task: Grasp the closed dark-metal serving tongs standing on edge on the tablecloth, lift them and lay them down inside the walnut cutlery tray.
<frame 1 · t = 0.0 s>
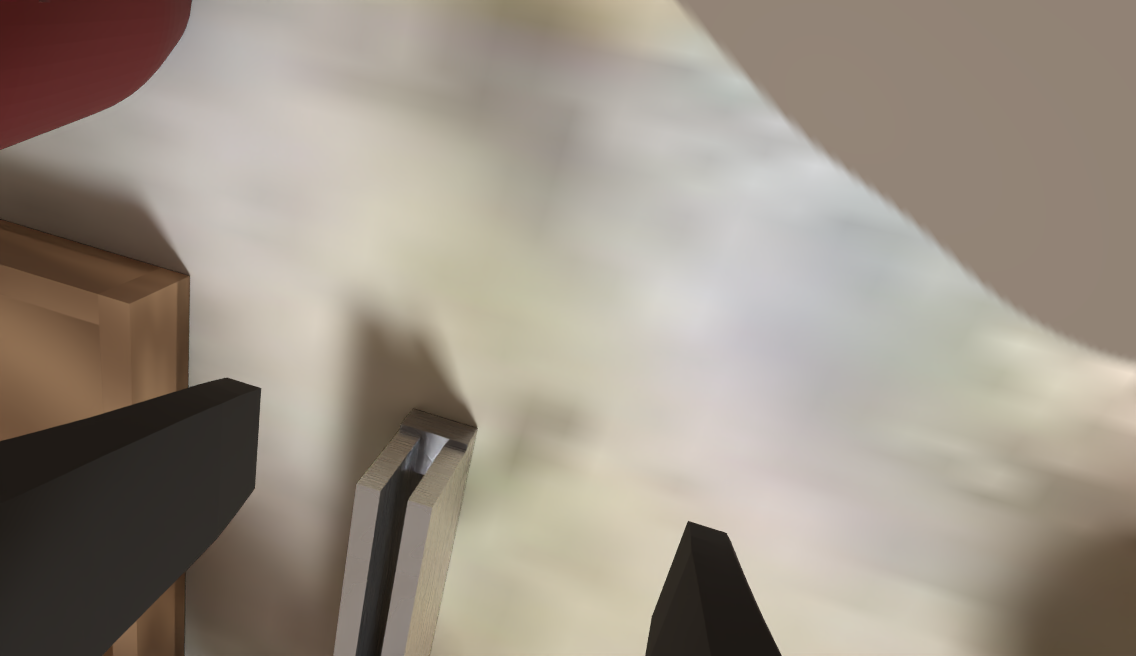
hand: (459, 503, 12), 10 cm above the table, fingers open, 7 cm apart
tongs: (415, 574, 26), on the table
tray: (64, 459, 27), on the table
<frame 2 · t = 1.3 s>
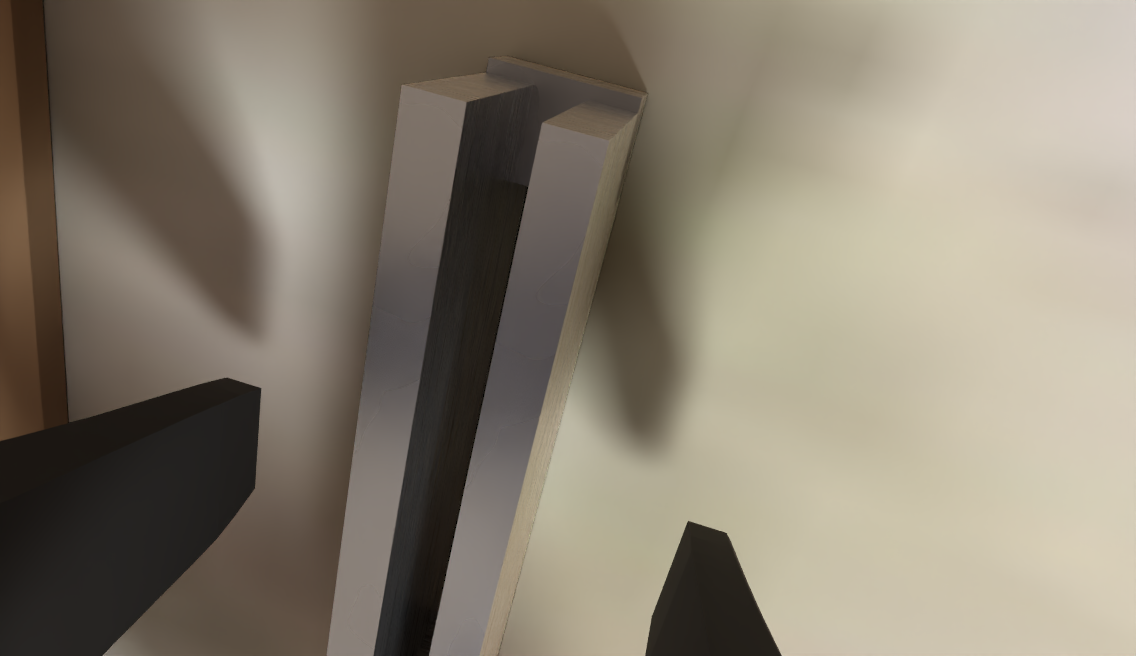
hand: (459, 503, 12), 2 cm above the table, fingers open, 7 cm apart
tongs: (494, 442, 14), on the table
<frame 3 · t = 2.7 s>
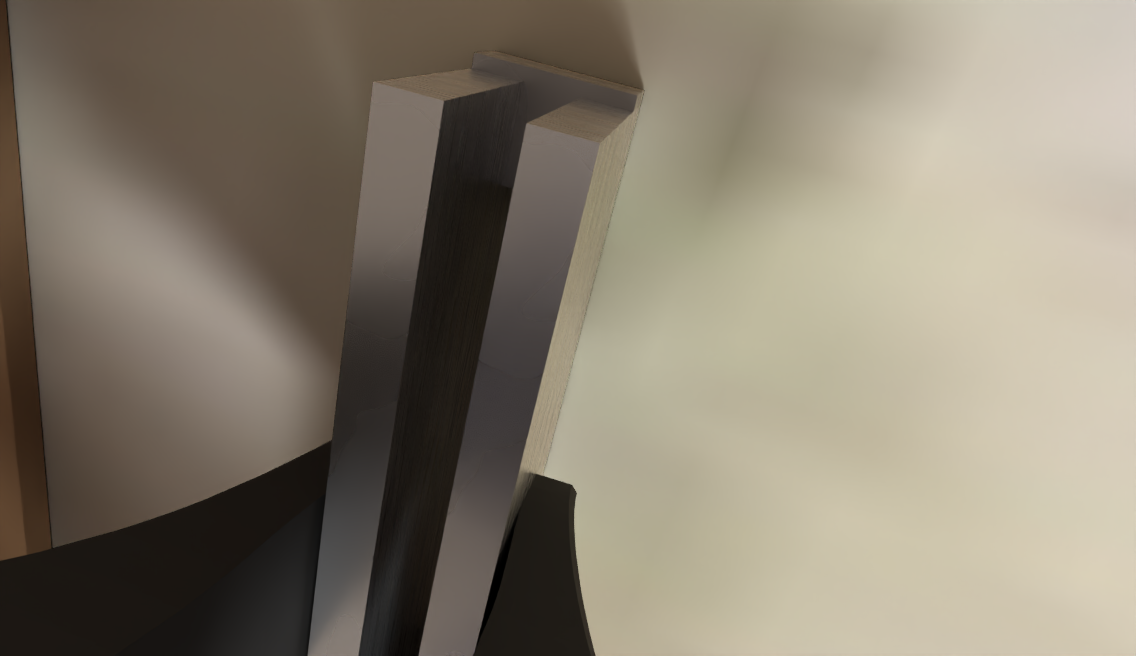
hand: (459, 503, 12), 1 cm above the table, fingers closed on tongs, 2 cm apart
tongs: (484, 456, 13), on the table, touching gripper
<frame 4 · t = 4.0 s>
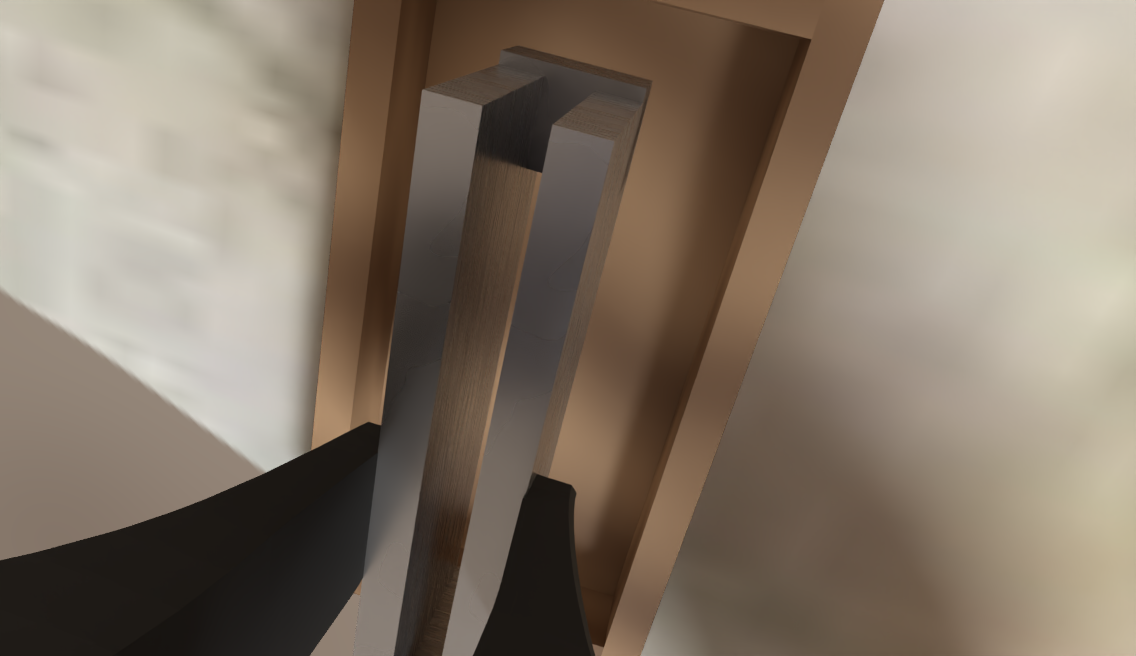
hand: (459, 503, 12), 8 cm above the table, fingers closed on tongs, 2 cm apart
tongs: (508, 410, 14), point 5 cm above the table, touching gripper
tray: (546, 315, 19), on the table
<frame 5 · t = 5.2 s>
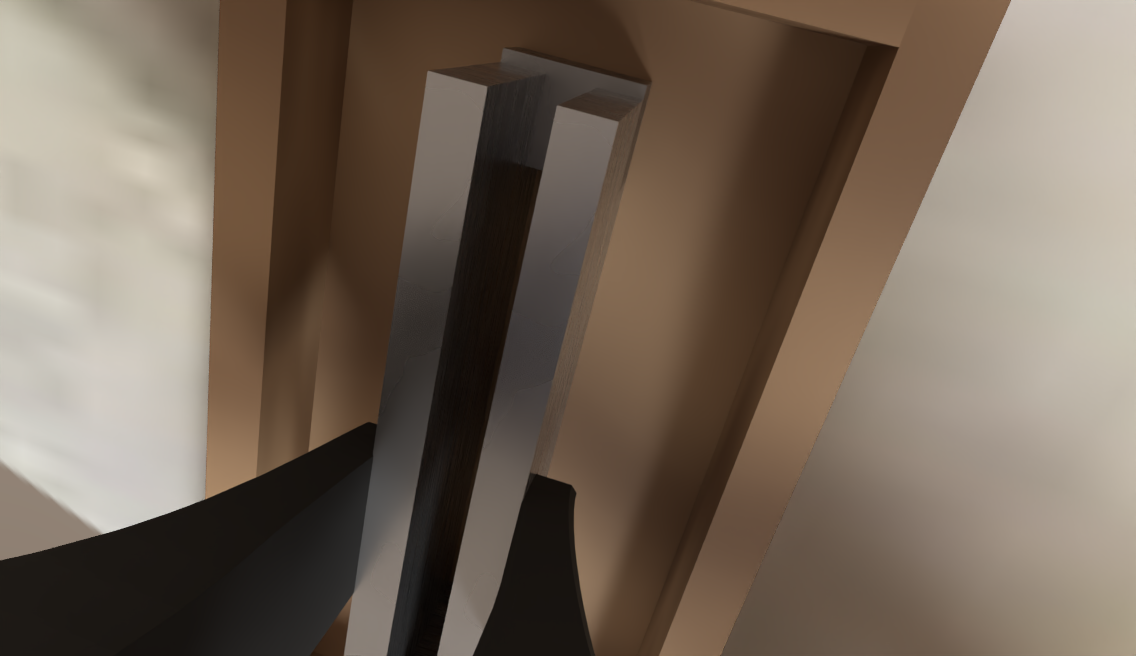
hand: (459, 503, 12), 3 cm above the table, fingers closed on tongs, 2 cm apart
tongs: (505, 416, 14), point 1 cm above the table, touching gripper, tray
tray: (513, 405, 15), on the table
when the fingers open (3 cm above the table, at t = 5.6 s): tongs stays where it is, resting on tray.
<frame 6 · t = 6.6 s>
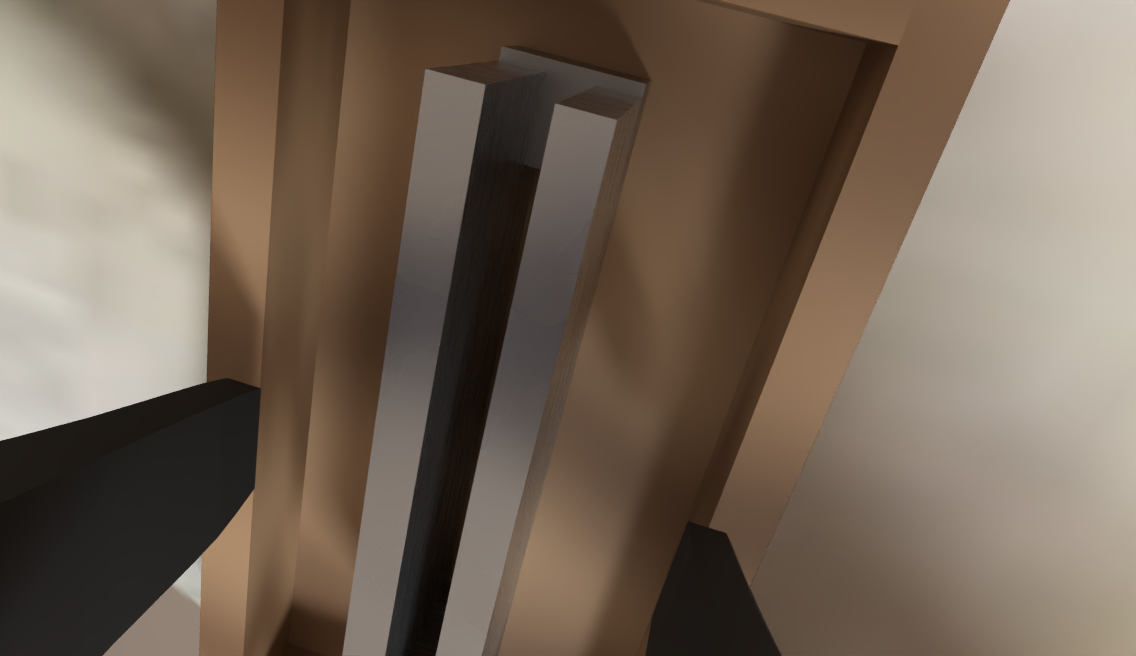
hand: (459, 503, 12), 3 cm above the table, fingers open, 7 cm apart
tongs: (503, 415, 14), point 1 cm above the table, touching tray
tray: (512, 404, 15), on the table
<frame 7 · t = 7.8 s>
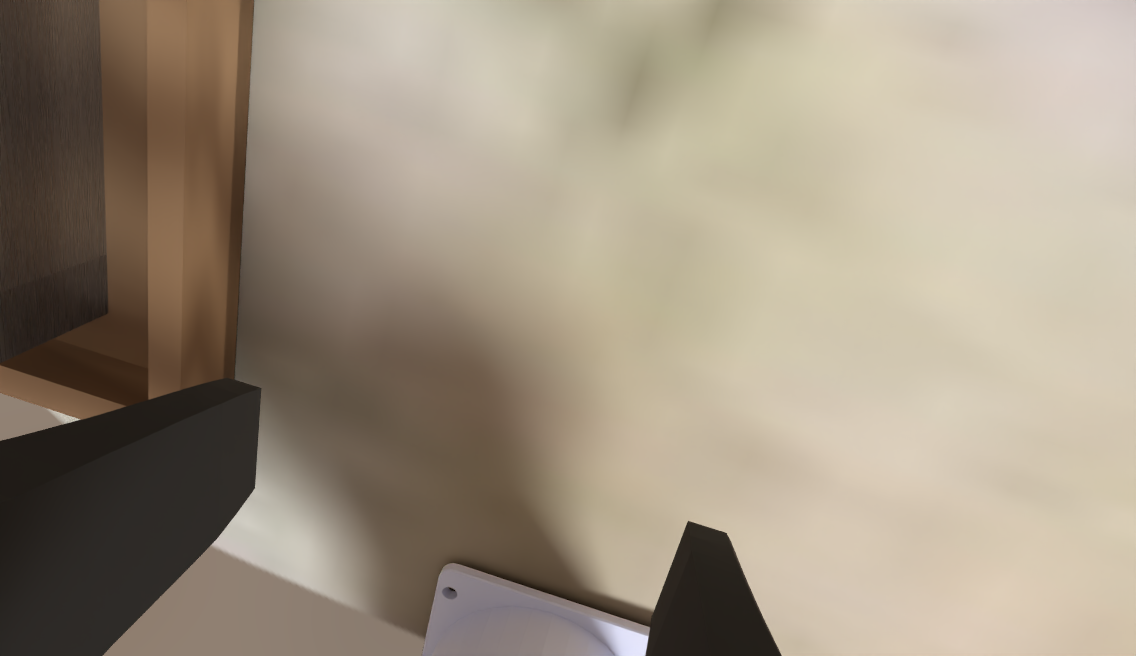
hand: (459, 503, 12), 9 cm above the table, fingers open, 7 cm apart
tongs: (66, 91, 20), point 1 cm above the table, touching tray
tray: (84, 92, 20), on the table
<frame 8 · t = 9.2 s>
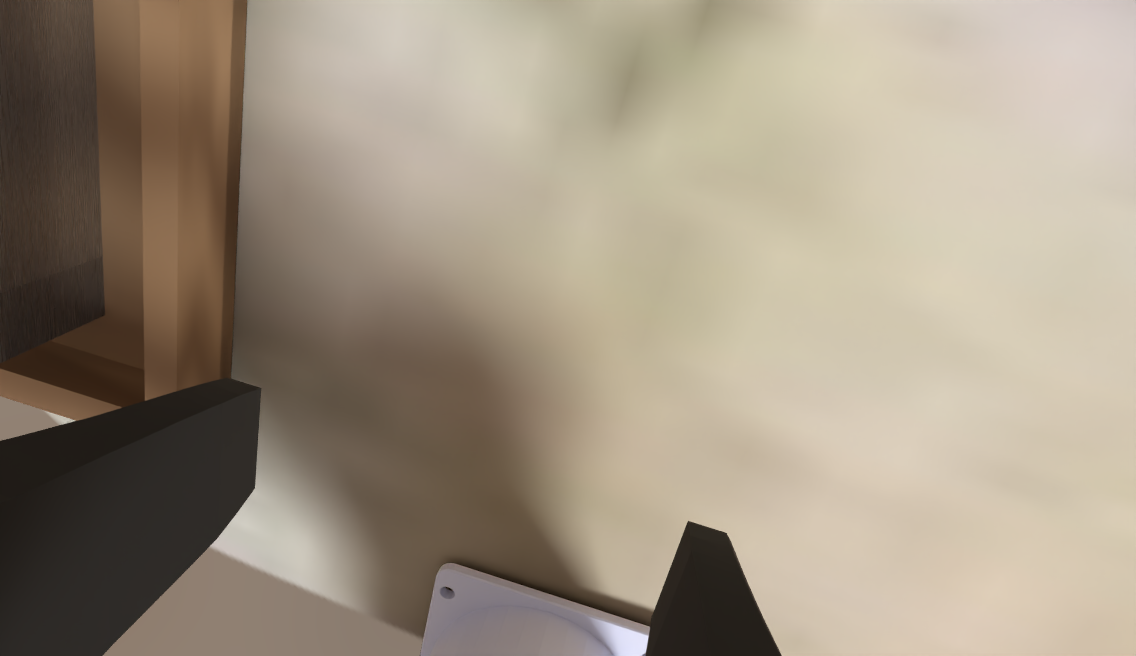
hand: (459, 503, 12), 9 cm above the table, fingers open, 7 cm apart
tongs: (61, 94, 20), point 1 cm above the table, touching tray
tray: (79, 95, 21), on the table
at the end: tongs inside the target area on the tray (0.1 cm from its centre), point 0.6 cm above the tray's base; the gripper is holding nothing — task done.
